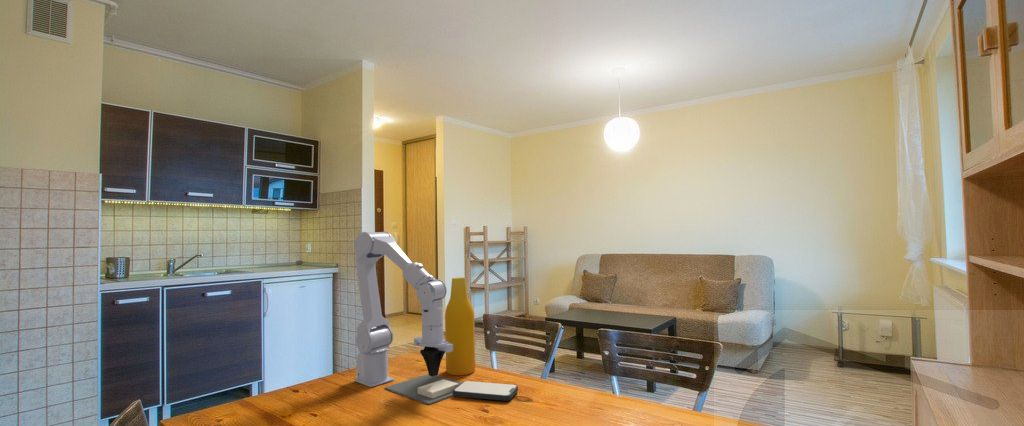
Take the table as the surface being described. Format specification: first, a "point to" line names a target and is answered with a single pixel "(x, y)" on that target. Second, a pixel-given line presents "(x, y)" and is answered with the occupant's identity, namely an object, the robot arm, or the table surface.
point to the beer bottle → (460, 330)
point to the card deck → (437, 388)
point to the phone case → (485, 390)
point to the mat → (411, 386)
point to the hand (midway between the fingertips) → (433, 375)
